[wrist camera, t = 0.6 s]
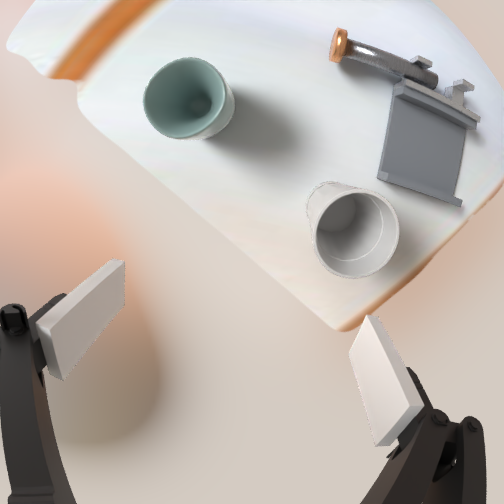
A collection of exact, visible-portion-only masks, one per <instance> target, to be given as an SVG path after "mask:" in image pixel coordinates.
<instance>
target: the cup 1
mask: <svg viewBox="0 0 504 504" xmlns="http://www.w3.org/2000/svg"><path fill="white" fill-rule="evenodd" d="M143 106H144V111H145V114H146V117H147V118H148V120H149V122H150V123H151V124H152V126H153V127H154V128H155V129H156V130H157V131H159V132H160V133H161V134H163V135H165V136H167V137H169V138H173V139H177V140H201V139H206V138H208V137H211V136H213V135H215V134H217V133H218V132H220V131H221V130H222V129H224V128H225V127H226V126H227V125H228V123H229V122H230V121H231V119H232V117H233V114H234V111H235V100H234V96H233V93H232V91H231V88H230V86H229V85H228V83H227V82H226V80H225V79H224V77H223V76H222V74H221V73H220V72H219V71H218V70H217V69H216V68H215V67H214V66H213V65H211V64H210V63H208V62H206V61H204V60H202V59H199V58H193V57H188V58H181V59H177V60H175V61H172V62H170V63H168V64H167V65H165V66H164V67H162V68H161V69H160V70H159V71H158V72H157V73H155V74H154V76H153V77H152V78H151V79H150V81H149V83H148V84H147V86H146V88H145V92H144V95H143Z"/></svg>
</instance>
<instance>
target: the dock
mask: <svg viewBox="0 0 504 504" xmlns="http://www.w3.org/2000/svg"><path fill="white" fill-rule="evenodd" d="M476 126H477V122H475V121H474V120H472V119H470V118H468V117H467V116H465V115H463V114H461V113H460V112H458V111H456V110H454V109H452V108H450V107H448V106H446V105H444V104H442V103H440V102H438V101H436V100H434V99H432V98H430V97H428V96H426V95H424V94H422V93H419V92H417V91H415V90H413V89H410V88H408V87H405V86H402V87H400V88H397V89H395V90H393V94H392V101H391V107H390V114H389V120H388V125H387V131H386V136H385V141H384V147H383V152H382V156H381V161H380V166H379V170H378V175H377V178H378V179H381V180H384V181H387V182H390V183H393V184H397V185H400V186H403V187H406V188H409V189H412V190H415V191H418V192H421V193H424V194H426V195H429V196H432V197H435V198H438V199H440V200H443V201H446V202H448V203H451V204H453V205H456V206H459V207H461V204H462V200H461V199H459V198H456V197H454V196H453V193H454V189H455V185H456V180H457V176H458V171H459V166H460V161H461V156H462V150H463V144H464V138H465V131H466V129H476Z"/></svg>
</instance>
